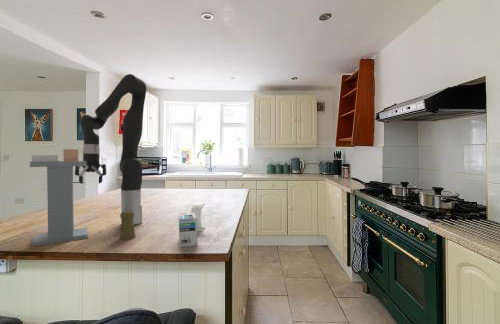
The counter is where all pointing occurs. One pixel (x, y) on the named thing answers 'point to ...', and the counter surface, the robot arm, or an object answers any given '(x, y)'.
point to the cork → (127, 226)
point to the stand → (59, 200)
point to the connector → (70, 154)
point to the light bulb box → (187, 229)
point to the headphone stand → (198, 214)
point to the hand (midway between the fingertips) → (90, 183)
